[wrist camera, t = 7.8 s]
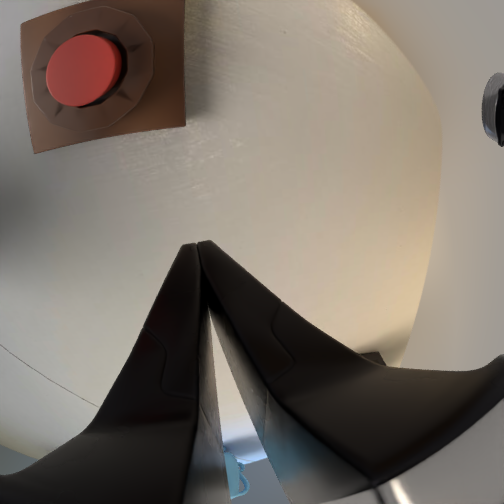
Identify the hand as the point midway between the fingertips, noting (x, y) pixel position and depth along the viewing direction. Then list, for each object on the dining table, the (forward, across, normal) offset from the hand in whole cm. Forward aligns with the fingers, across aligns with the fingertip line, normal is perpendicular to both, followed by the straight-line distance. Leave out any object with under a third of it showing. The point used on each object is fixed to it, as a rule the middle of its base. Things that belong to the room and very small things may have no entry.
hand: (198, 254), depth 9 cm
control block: (+11, +4, -6) cm, 13 cm away
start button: (+8, +4, -6) cm, 10 cm away
